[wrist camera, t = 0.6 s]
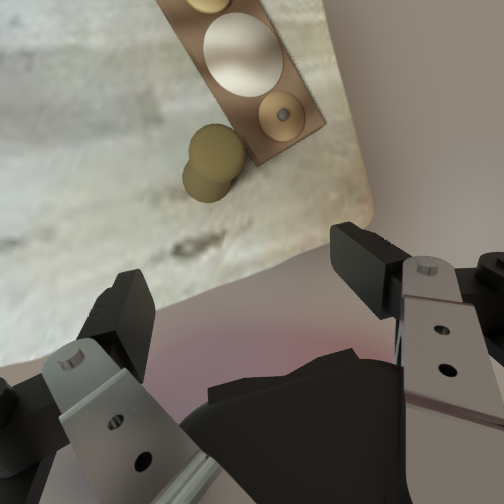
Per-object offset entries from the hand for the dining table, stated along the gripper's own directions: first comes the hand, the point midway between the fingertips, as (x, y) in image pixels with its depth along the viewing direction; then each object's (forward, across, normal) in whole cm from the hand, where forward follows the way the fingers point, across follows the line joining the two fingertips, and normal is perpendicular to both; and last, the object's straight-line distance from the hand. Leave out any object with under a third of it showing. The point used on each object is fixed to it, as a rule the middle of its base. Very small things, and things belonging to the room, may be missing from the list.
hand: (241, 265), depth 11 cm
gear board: (+32, -7, -11) cm, 34 cm away
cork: (+25, 0, +2) cm, 25 cm away
